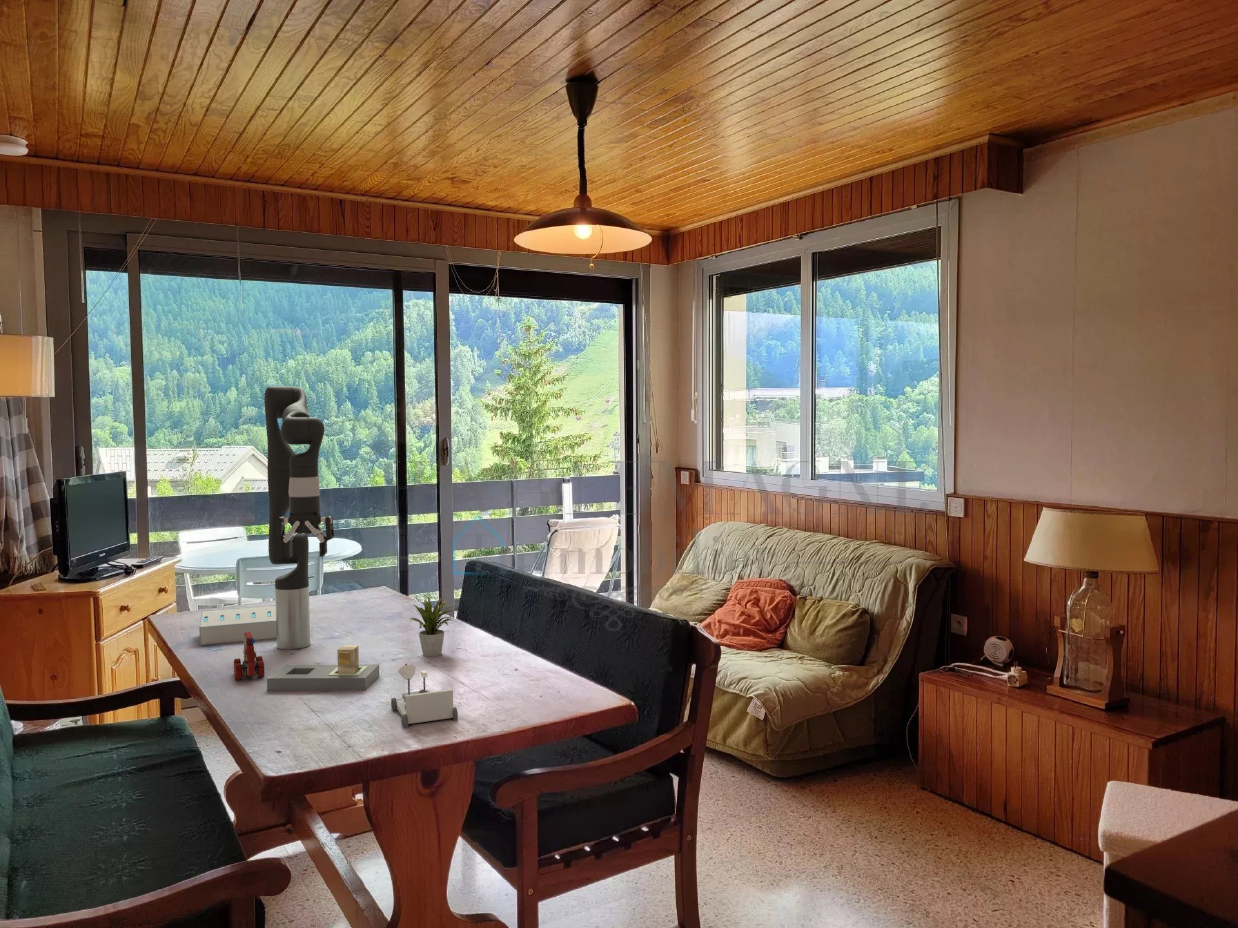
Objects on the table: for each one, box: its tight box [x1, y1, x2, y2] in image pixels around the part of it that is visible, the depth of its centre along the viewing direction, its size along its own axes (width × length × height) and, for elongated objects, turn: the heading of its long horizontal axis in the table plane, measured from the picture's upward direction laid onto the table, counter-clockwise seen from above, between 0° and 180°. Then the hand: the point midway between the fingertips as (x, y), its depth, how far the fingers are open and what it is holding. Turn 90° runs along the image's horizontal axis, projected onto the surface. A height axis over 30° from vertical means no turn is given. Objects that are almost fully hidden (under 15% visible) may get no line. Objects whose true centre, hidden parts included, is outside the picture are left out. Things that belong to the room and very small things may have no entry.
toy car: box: [390, 663, 459, 729], centre depth 201 cm, size 18×10×12 cm
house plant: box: [408, 595, 459, 658], centre depth 249 cm, size 14×14×16 cm
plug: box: [336, 644, 360, 674], centre depth 223 cm, size 5×4×9 cm
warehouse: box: [199, 604, 276, 646], centre depth 275 cm, size 30×14×8 cm, turn 112°
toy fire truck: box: [233, 632, 265, 681], centre depth 231 cm, size 7×12×10 cm, turn 26°
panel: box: [266, 664, 380, 691], centre depth 224 cm, size 12×24×3 cm, turn 89°
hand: (306, 556), depth 234 cm, fingers open, 8 cm apart
